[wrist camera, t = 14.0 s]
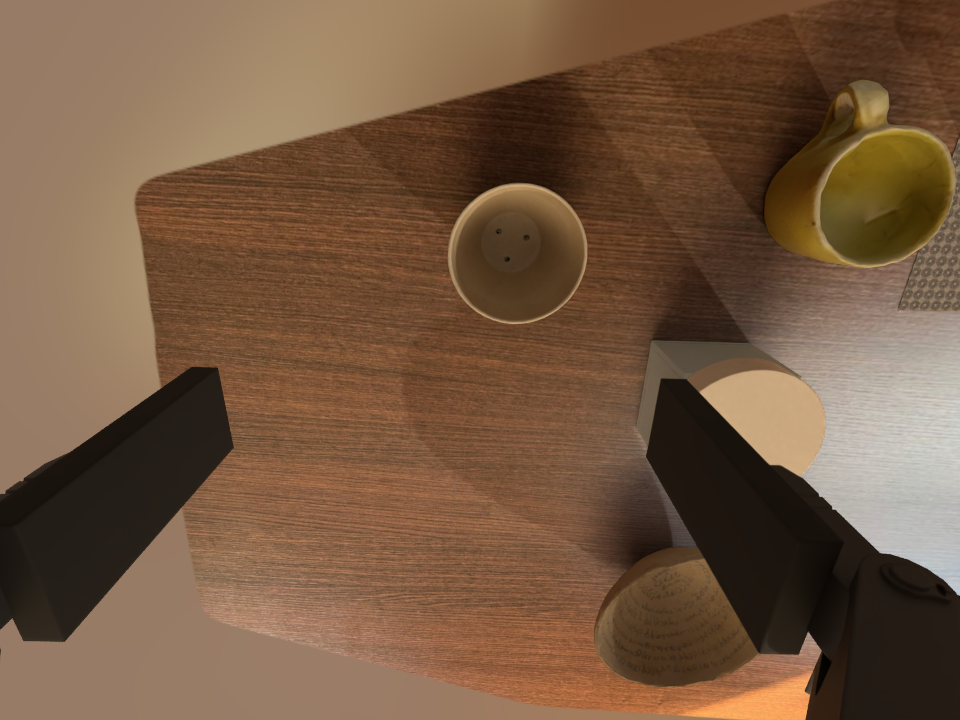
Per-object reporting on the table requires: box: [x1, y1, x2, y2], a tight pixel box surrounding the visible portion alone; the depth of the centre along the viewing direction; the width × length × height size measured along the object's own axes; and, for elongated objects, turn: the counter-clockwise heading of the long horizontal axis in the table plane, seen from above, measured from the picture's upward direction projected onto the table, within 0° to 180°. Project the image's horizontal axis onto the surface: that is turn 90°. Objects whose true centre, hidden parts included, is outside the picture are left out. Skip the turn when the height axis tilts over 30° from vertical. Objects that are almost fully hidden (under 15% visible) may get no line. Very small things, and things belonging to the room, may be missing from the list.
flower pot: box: [448, 183, 587, 324], centre depth 37 cm, size 10×10×7 cm
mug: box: [764, 80, 956, 268], centre depth 35 cm, size 12×10×10 cm
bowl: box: [594, 547, 759, 687], centre depth 51 cm, size 18×18×8 cm
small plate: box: [687, 358, 826, 476], centre depth 38 cm, size 12×12×2 cm
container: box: [636, 340, 801, 446], centre depth 42 cm, size 9×9×8 cm
